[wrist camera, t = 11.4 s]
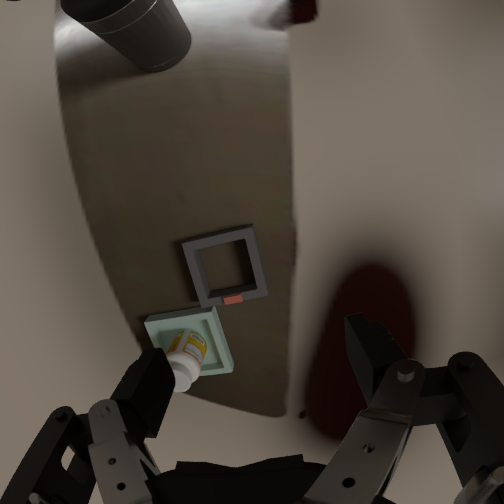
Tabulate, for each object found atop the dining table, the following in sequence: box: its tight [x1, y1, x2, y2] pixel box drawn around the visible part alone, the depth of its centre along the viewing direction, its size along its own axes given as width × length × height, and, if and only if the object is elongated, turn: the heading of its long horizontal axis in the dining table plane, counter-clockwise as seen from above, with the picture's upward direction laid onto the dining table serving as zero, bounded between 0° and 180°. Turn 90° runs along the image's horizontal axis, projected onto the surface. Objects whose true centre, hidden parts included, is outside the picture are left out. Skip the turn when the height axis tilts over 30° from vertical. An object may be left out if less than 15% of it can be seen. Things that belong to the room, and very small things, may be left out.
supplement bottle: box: [166, 329, 207, 392], centre depth 37 cm, size 5×5×10 cm
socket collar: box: [182, 224, 269, 308], centre depth 38 cm, size 9×9×3 cm
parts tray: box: [144, 306, 234, 376], centre depth 42 cm, size 11×11×2 cm
